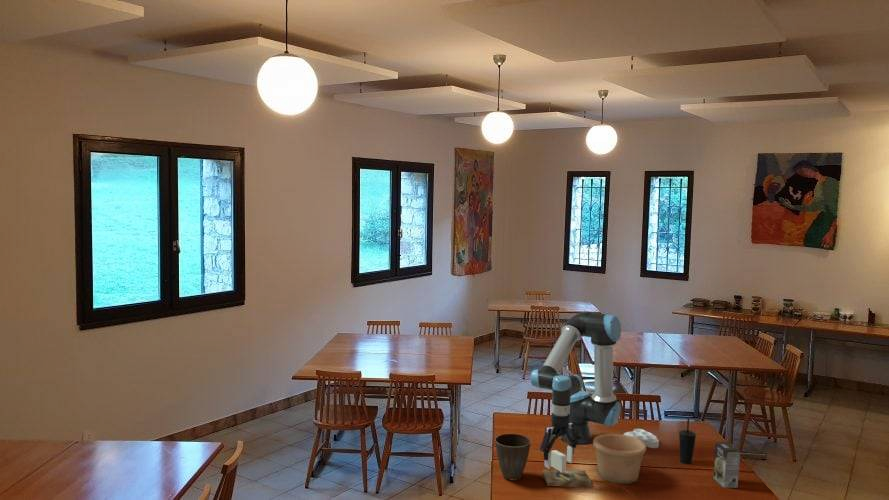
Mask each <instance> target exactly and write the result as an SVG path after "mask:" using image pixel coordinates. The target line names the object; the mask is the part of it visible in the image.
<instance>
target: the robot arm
mask: <svg viewBox="0 0 889 500" xmlns="http://www.w3.org/2000/svg"><path fill="white" fill-rule="evenodd" d="M621 334H622V324H621V321H620V319H619V318H618V317H617V316H616V315H612V314H608V313H599V312H590V311H582V312H578V313H576V314H574V315H573V316H571V317H570V318H569V319H568V320H567V321H566V322H565V323H564V324H563V326H562V328H561V334H560V335H559V337H558V339H557V340H556V342H555V344H554V346H553V347H552V349H551V351H550V353H549V355H548V356H547V358H546V359H545V361H544V363H543V364H542V366H541V368H540V369H534V370H532V371H531V373H530V376H529V378H530V380H529V381H530V384H531V385H532V387H535V388H538V389H545V390H548V391H549V390H550V391H551V392H552V393H551V397H552V398H551V410H550V411H551V414H550V415H551V416H550V417H551V419H550V421H551V426H550V427H548V426H546V427H545V430H544V435H543V439H542V442H541V444H540V448H539V451H541V452H543V460H544V467H545V468H547V470H550V469H551V451H552V447H553V446H554V444H555V442H556V440H557V439H558V438H560V437H561V439H563V440H564V441H563V440H562V441H563V442H565V441H567V442H566V443H567V444H568V445H567V447H566V456H567V462H568V463H570V464H573V462H574V461H573V457H574V456H573V455H574V453H575V448H577V446H578V445H585V444H589V443H591V441H592V434H591V433H592V432H591V430H590V426H589V422H590V423H594V424H595V423H596V424H599V425H604V426H608V427H609V426H610V427H613V426H615V425H616V424H617V422H618V421H619V418H620V416H621V412H622V411H621V410H622V404H621V403H620V402H619V401H617V396H616V394H614V347H615V345H616V344H617V342H619V340H620V339H621V336H622V335H621ZM583 337H587V338H590V343H591V344H592V345H593V346H594V347H593V348H594V351H593V352H594V356H593V357H594V358H593V359H594V362H593V363H594V370H593V371H594V373H593V374H594V377H593V378H594V392H593V393H592V394H590V392H588V391H585V390H582V389H583V388H584V381H583V378H582V377H581V376H580V375H579V374H570V375H567V374H562V373H561V374H560V373H559V372H560V371H561V369H562V367H563V366H564V364H565V362H566V360H567V358H568V357H569V355H570V353H571V352H572V349H573V348H574V346H575V344H576V342H579V341H580V340H581V338H583ZM561 439H560V440H561Z"/></svg>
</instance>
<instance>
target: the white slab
mask: <svg viewBox="0 0 889 500" xmlns="http://www.w3.org/2000/svg"><path fill="white" fill-rule="evenodd" d="M550 453H551V458H550V468H551V467H552V469H553V468H554V470H556V475H559V476H561V477H563V478H564V479H566V480H568V481H570V479H569V478H567V477H565V476H563V475H562V474H560V472H565V471H566V470H567V462H568V461H567V454H565V453H563V452H560V451H559V450H555V449H554V450H550Z"/></svg>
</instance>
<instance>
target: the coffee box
mask: <svg viewBox="0 0 889 500" xmlns="http://www.w3.org/2000/svg"><path fill="white" fill-rule="evenodd" d="M714 448H715V449H714V464H713V479H714V480H715V481H716V482H717V483H718V484H719V485H720V486H721V487H722V488H723V489H724V488H725V489H727V488H729V489H731V488H738V486H739V477H740V476H739V473H740V461H741V460H740V459H741V458H740V457H741V450H740V448H737V447H736V446H735V445H734V444H733V443H731V442H724V441H715V446H714Z"/></svg>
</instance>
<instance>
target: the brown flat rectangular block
mask: <svg viewBox="0 0 889 500" xmlns="http://www.w3.org/2000/svg"><path fill="white" fill-rule="evenodd" d="M560 474H562V475H563V476H565V477H567V478H569V479H570V481H568V480H566V479H564V478H563V477H561V476H559V475H556V469H542V476H543V475H544V477H543V479H544V478H545V479H544V482H545V481H546V482H545V484H546V483H547V485H546V486H565V487H564V488H585V489H586V488H590V489H591V488H592V481H591V480H590V478H589V475H588V474H587V472H586V470H575V469H573V470H572V469H571V470H570V469H566V471H565V472H560Z"/></svg>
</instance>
